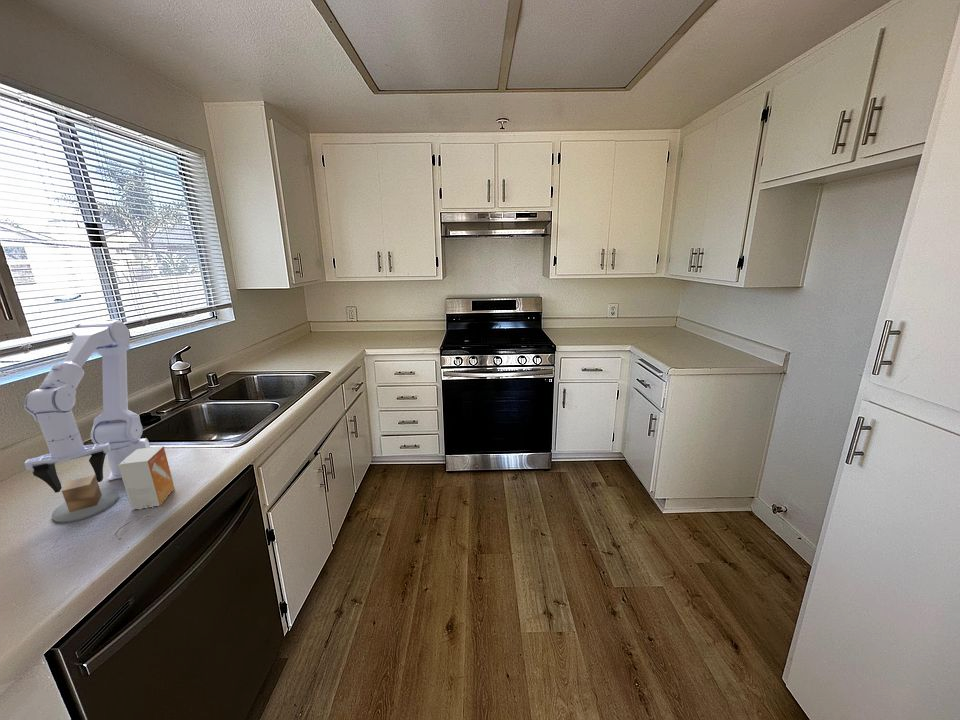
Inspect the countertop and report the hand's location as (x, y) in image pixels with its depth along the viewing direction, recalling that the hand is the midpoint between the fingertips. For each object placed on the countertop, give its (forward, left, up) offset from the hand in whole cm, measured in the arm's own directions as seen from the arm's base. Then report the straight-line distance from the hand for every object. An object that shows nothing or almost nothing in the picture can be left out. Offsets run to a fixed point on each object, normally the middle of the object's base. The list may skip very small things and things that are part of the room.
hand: (80, 485), depth 98 cm
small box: (-14, +6, -7) cm, 17 cm away
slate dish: (0, 0, -6) cm, 6 cm away
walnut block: (0, 0, -5) cm, 5 cm away
